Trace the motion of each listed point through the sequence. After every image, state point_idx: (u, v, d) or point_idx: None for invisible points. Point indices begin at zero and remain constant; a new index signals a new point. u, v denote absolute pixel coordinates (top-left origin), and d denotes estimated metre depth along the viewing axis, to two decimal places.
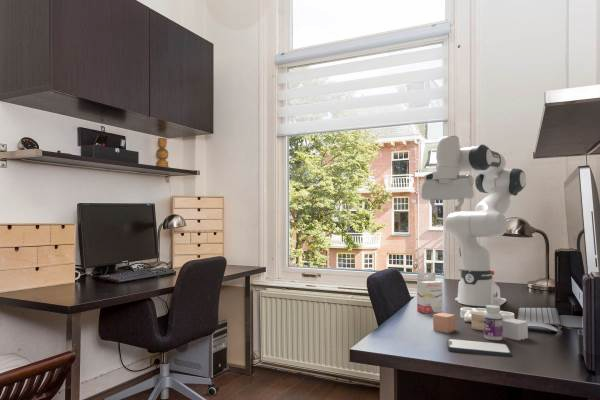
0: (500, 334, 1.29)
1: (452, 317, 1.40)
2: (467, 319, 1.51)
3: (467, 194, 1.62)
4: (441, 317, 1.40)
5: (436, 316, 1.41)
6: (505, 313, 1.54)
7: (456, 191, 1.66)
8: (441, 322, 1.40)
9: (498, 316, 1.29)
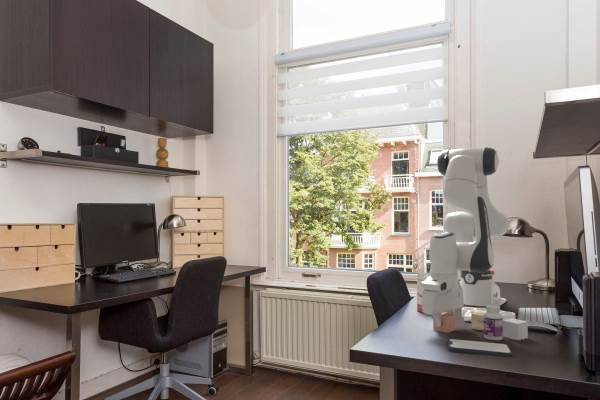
0: (500, 334, 1.29)
1: (452, 317, 1.40)
2: (467, 319, 1.52)
3: (463, 303, 1.47)
4: (441, 317, 1.40)
5: None
6: (506, 313, 1.54)
7: (456, 300, 1.44)
8: None
9: (498, 316, 1.29)
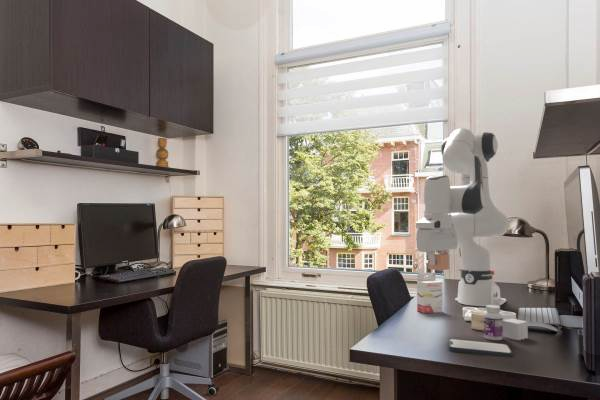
0: (500, 334, 1.29)
1: (446, 256, 1.44)
2: (467, 318, 1.52)
3: (457, 245, 1.51)
4: (435, 255, 1.44)
5: None
6: (507, 313, 1.54)
7: (450, 241, 1.48)
8: None
9: (498, 316, 1.29)
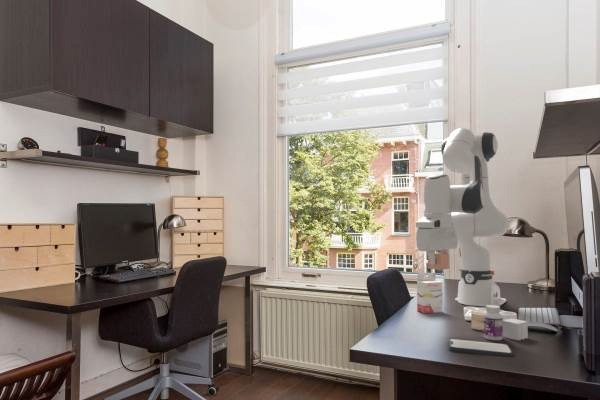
0: (500, 334, 1.29)
1: (446, 255, 1.45)
2: (467, 318, 1.53)
3: (456, 245, 1.51)
4: (435, 255, 1.44)
5: None
6: (508, 313, 1.54)
7: (450, 240, 1.48)
8: None
9: (498, 316, 1.29)
